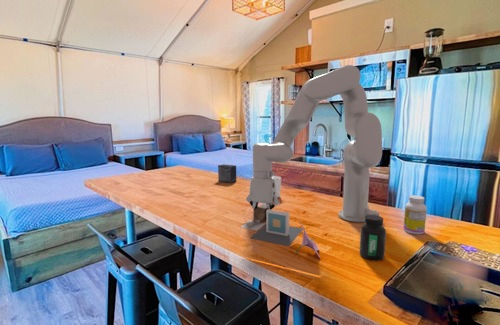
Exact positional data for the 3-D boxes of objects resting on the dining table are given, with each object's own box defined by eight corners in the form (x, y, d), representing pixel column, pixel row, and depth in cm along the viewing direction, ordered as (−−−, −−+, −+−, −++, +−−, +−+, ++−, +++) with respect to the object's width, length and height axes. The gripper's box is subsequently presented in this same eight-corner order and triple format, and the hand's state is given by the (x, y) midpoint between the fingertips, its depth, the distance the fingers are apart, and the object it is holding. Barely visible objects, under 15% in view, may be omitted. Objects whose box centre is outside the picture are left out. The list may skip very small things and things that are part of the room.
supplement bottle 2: (405, 226, 107) (408, 193, 104) (425, 230, 102) (429, 196, 100) (401, 232, 101) (404, 197, 99) (422, 236, 97) (426, 200, 95)
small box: (237, 181, 183) (236, 165, 181) (231, 183, 177) (230, 166, 176) (224, 179, 188) (223, 163, 187) (217, 181, 183) (217, 165, 181)
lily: (311, 274, 77) (329, 243, 77) (276, 248, 82) (292, 220, 82) (319, 266, 88) (335, 240, 87) (288, 244, 93) (302, 219, 92)
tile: (288, 234, 99) (289, 212, 98) (287, 236, 98) (287, 214, 96) (268, 230, 103) (268, 209, 102) (266, 232, 101) (266, 210, 100)
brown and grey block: (274, 217, 118) (274, 205, 117) (256, 232, 103) (256, 218, 102) (259, 214, 121) (259, 203, 120) (240, 228, 106) (239, 215, 105)
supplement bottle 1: (376, 264, 80) (378, 223, 78) (354, 254, 85) (356, 216, 83) (388, 256, 84) (391, 218, 82) (367, 248, 89) (369, 211, 87)
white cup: (280, 198, 144) (280, 179, 142) (264, 197, 145) (264, 178, 143) (281, 194, 151) (281, 176, 150) (267, 193, 153) (267, 175, 151)
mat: (303, 229, 104) (303, 228, 104) (288, 247, 90) (288, 246, 90) (268, 223, 111) (268, 222, 111) (249, 239, 97) (249, 238, 97)
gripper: (285, 174, 112) (285, 218, 115) (247, 171, 119) (248, 212, 122) (278, 178, 105) (278, 225, 108) (239, 174, 113) (239, 218, 116)
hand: (262, 217), depth 115 cm, fingers open, 4 cm apart
